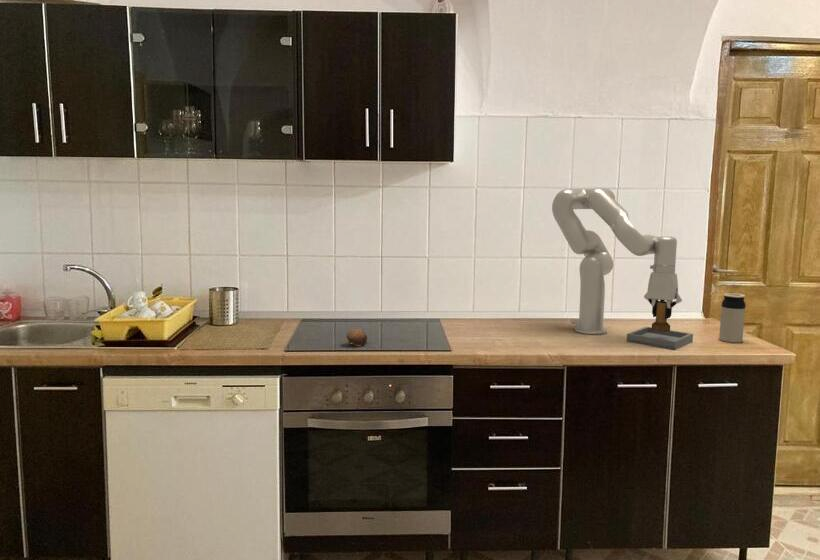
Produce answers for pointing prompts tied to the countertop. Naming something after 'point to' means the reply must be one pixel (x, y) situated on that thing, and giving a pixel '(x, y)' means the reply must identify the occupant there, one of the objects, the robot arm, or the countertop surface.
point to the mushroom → (357, 337)
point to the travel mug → (732, 318)
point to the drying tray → (660, 338)
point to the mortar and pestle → (661, 318)
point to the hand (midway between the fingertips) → (661, 316)
